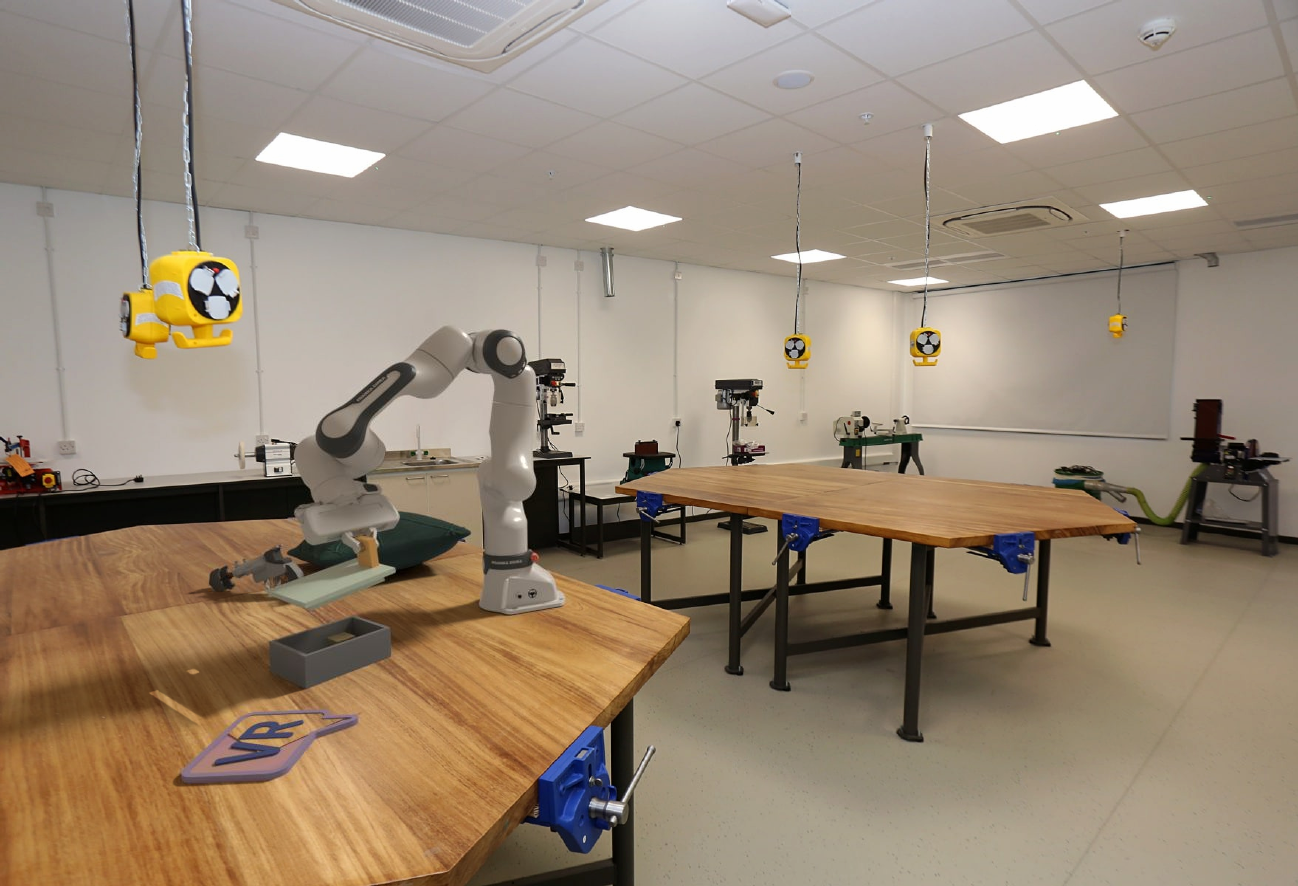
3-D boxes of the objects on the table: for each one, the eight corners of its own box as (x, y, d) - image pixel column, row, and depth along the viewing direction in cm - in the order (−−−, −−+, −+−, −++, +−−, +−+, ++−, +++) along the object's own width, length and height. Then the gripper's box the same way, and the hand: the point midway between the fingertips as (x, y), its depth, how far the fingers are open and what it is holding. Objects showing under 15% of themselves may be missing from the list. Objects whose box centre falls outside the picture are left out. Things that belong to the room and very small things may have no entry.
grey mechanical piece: (300, 596, 174) (279, 541, 174) (221, 628, 181) (200, 575, 181) (315, 590, 180) (294, 536, 180) (238, 621, 186) (218, 569, 186)
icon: (318, 771, 95) (173, 777, 93) (319, 781, 95) (174, 787, 93) (364, 708, 114) (244, 712, 112) (364, 716, 114) (245, 720, 112)
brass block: (345, 650, 139) (344, 631, 139) (356, 654, 137) (355, 635, 136) (327, 656, 136) (326, 637, 135) (337, 660, 133) (337, 642, 133)
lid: (358, 568, 143) (352, 531, 142) (396, 579, 135) (391, 540, 134) (269, 602, 128) (261, 561, 126) (306, 616, 120) (299, 572, 118)
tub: (355, 646, 143) (354, 615, 143) (391, 660, 136) (390, 627, 135) (270, 676, 128) (268, 641, 128) (306, 693, 121) (304, 656, 120)
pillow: (316, 523, 173) (279, 524, 206) (324, 592, 173) (285, 581, 206) (469, 500, 202) (415, 504, 235) (476, 559, 202) (421, 555, 235)
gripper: (296, 497, 131) (325, 551, 126) (386, 484, 148) (415, 531, 143) (285, 516, 134) (314, 570, 129) (375, 501, 151) (403, 548, 146)
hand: (367, 549), depth 136 cm, fingers closed on lid
